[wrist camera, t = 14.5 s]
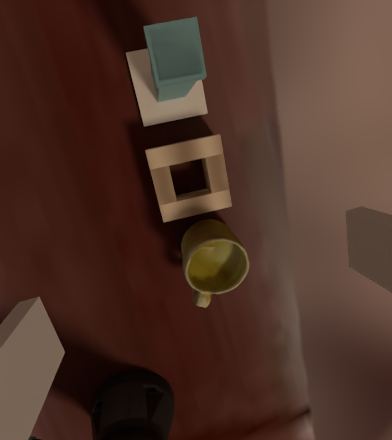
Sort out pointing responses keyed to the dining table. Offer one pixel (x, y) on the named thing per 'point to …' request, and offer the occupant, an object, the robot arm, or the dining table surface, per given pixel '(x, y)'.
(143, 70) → the tile
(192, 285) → the mug
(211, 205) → the socket block
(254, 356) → the dining table surface
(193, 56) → the plug
